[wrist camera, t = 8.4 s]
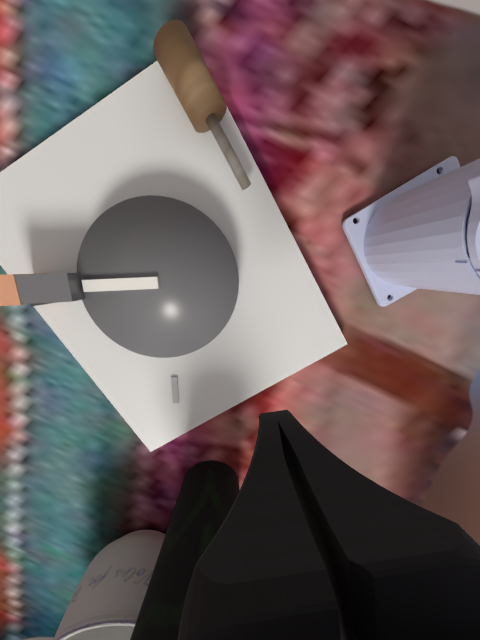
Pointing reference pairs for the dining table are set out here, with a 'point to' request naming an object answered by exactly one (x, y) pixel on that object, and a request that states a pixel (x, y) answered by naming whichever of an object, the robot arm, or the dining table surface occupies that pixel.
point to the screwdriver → (195, 88)
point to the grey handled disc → (145, 277)
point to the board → (204, 194)
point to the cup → (185, 547)
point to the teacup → (112, 589)
